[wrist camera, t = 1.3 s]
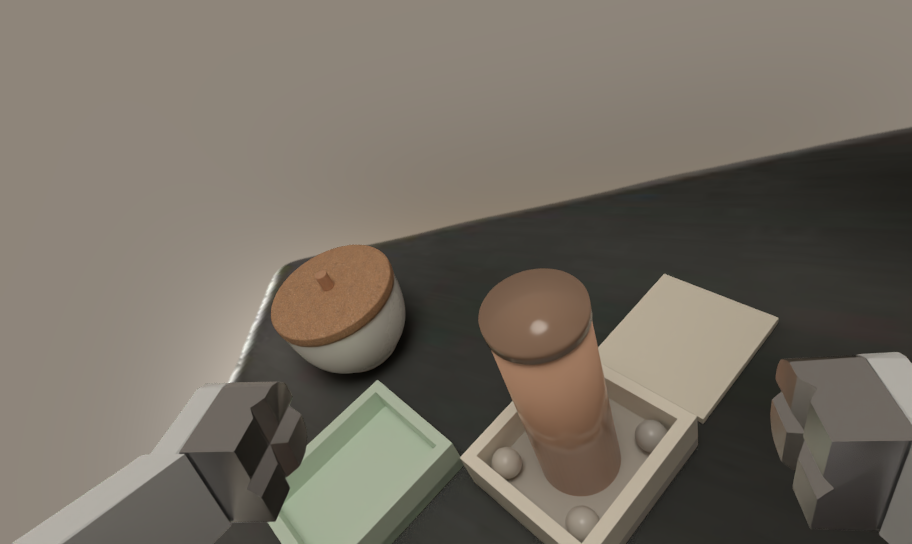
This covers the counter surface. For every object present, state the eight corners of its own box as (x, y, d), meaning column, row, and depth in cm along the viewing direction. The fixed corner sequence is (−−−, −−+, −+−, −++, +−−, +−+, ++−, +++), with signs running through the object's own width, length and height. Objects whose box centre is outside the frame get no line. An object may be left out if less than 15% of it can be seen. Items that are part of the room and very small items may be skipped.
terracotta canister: (572, 406, 39) (527, 255, 30) (639, 449, 36) (613, 293, 26) (522, 464, 37) (456, 322, 28) (588, 515, 34) (539, 373, 24)
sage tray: (391, 400, 46) (377, 379, 44) (465, 464, 40) (452, 443, 38) (273, 515, 42) (251, 497, 40) (334, 605, 35) (312, 590, 34)
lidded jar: (435, 300, 53) (399, 225, 47) (401, 398, 46) (353, 326, 40) (339, 302, 57) (294, 233, 51) (294, 393, 50) (235, 326, 44)
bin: (659, 276, 47) (656, 246, 44) (785, 326, 40) (790, 293, 38) (474, 482, 39) (459, 457, 36) (593, 587, 32) (584, 565, 30)
